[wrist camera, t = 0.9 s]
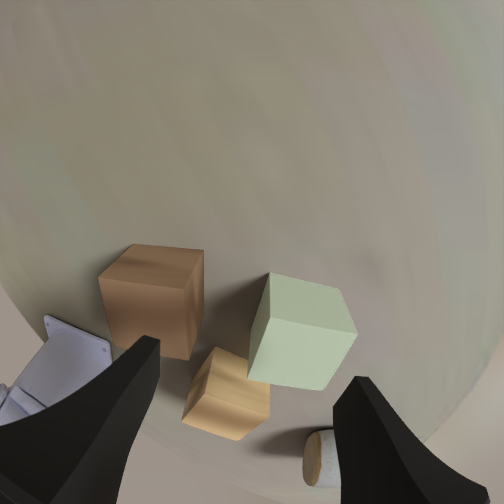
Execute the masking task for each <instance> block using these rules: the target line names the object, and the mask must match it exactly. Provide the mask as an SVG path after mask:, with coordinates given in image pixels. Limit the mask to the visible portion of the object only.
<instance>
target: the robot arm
mask: <svg viewBox="0 0 504 504" xmlns="http://www.w3.org/2000/svg"><path fill="white" fill-rule="evenodd" d="M44 322H45V326H46V330H47V334H48V338H49V339H48V340H47V341H46V343H45V344H44V345H43V346H42V348H41V349H40V350H39V351H38V352H37V354H36V355H35V356H34V357H33V359H32V360H31V361H30V362H29V364H28V365H27V366H26V368H25V369H24V370H23V371H22V373H21V374H20V375H19V377H18V378H17V380H16V381H15V382H14V384H13V385H12V386H11V387H9V388H7V386H6V385H5V384H0V504H116V502H117V497H118V492H119V488H120V484H121V480H122V476H123V472H124V469H125V465H126V462H127V458H128V455H129V452H130V449H131V446H132V444H133V441H134V439H135V437H136V435H137V432H138V430H139V428H140V426H141V423H142V421H143V419H144V417H145V415H146V412H147V410H148V408H149V406H150V403H151V401H152V399H153V395H154V392H155V389H156V386H157V383H158V379H159V376H160V341H161V340H160V339H157V338H153V337H150V336H147V335H143V336H141V337H140V338H139V339H138V340H137V341H136V342H135V343H134V344H133V345H132V346H131V347H130V348H129V349H128V350H127V351H126V352H124V353H123V354H122V355H121V356H120V357H119V358H118V359H117V360H115V361H114V362H113V363H112V357H111V348H110V344H109V342H108V341H106V340H104V339H101V338H99V337H96V336H94V335H91V334H89V333H87V332H84V331H82V330H80V329H77V328H75V327H73V326H70V325H68V324H66V323H64V322H62V321H59V320H57V319H55V318H53V317H51V316H49V315H45V316H44ZM333 430H334V437H335V443H336V450H337V456H338V462H339V469H340V477H341V504H490V499H489V496H488V492H487V489H486V487H484V486H482V485H480V484H477V483H475V482H473V481H471V480H469V479H467V478H466V477H464V476H462V475H461V474H459V473H457V472H456V471H454V470H453V469H451V468H450V467H449V466H447V465H446V464H445V463H443V462H442V461H441V460H440V459H439V458H437V457H436V456H435V455H434V454H433V453H432V452H430V450H429V449H428V448H426V447H425V446H424V445H423V444H422V443H421V442H420V440H419V439H418V438H417V437H416V436H415V435H414V434H413V433H412V432H411V430H410V429H409V428H408V427H407V426H406V424H405V423H404V422H403V421H402V420H401V418H400V417H399V416H398V415H397V413H396V412H395V411H394V409H393V408H392V407H391V405H390V404H389V403H388V401H387V400H386V399H385V397H384V396H383V395H382V394H381V392H380V391H379V390H378V388H377V387H376V386H375V384H374V383H373V382H372V381H371V380H370V378H369V377H362V376H355V377H354V378H353V380H352V381H351V383H350V384H349V385H348V387H347V388H346V390H345V391H344V392H343V394H342V395H341V397H340V398H339V399H338V401H337V402H336V403H335V405H334V406H333Z"/></svg>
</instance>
